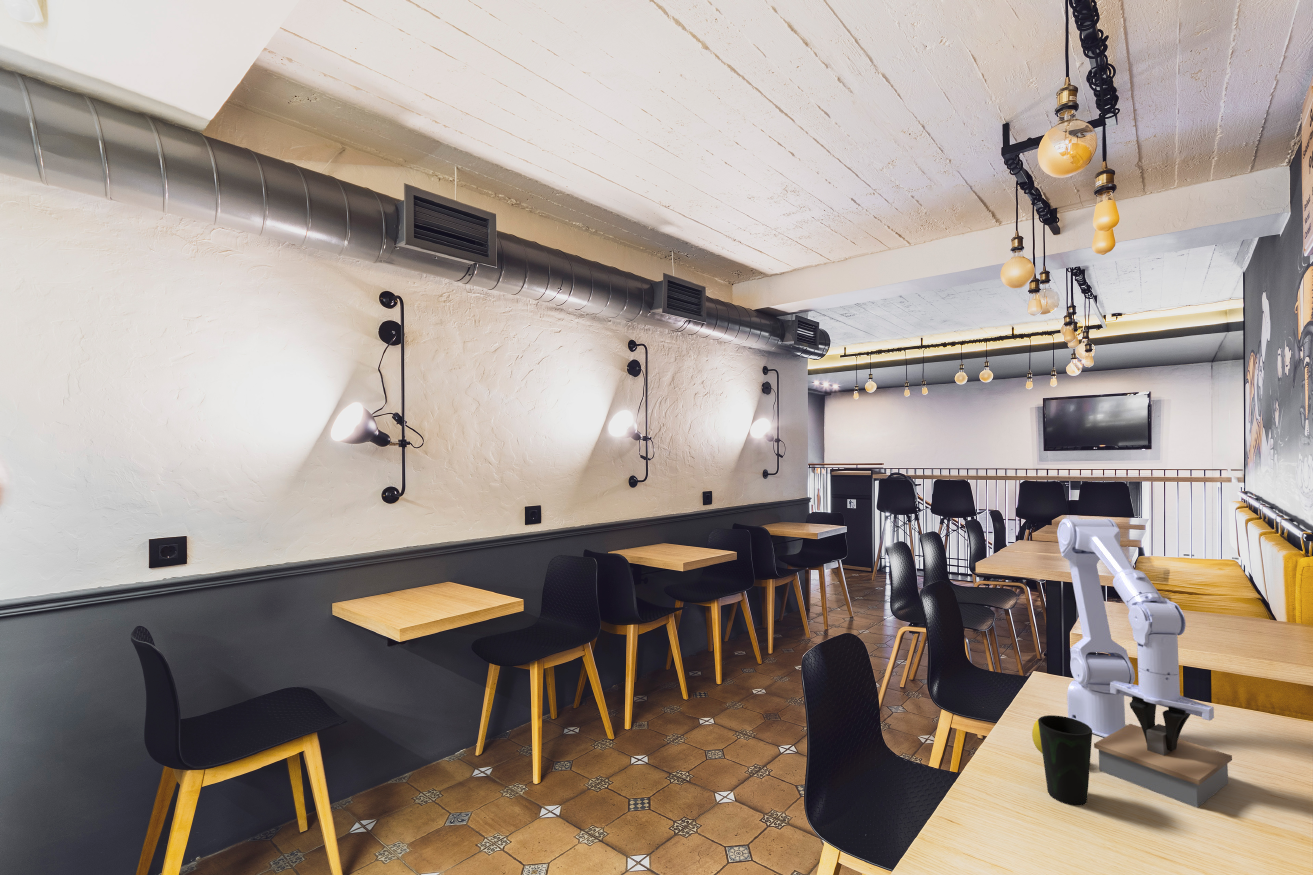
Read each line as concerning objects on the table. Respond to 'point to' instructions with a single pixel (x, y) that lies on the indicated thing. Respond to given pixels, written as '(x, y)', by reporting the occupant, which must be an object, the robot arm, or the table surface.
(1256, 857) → the table surface
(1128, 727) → the lid
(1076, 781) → the cup
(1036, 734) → the lemon
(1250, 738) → the table surface
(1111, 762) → the box
